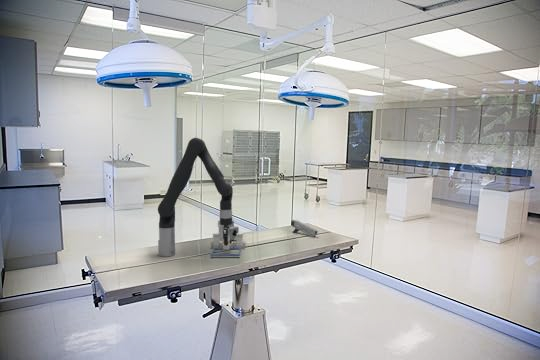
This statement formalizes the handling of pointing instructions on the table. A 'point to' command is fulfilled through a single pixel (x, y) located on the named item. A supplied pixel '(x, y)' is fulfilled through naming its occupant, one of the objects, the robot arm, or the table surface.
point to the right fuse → (239, 240)
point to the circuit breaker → (232, 231)
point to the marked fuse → (228, 243)
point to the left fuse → (216, 240)
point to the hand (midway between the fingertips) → (226, 244)
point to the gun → (303, 228)
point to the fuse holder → (230, 245)
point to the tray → (225, 254)
